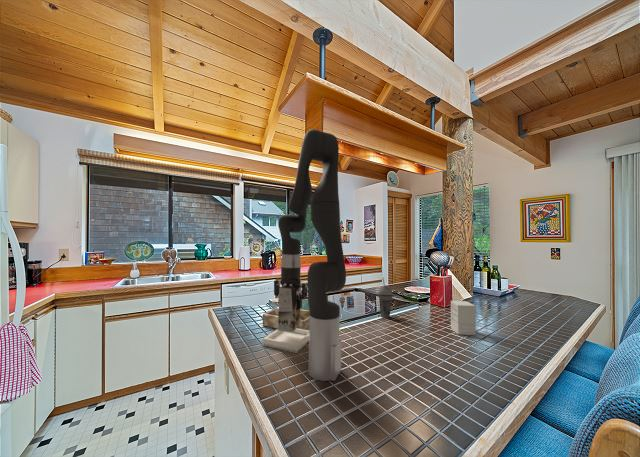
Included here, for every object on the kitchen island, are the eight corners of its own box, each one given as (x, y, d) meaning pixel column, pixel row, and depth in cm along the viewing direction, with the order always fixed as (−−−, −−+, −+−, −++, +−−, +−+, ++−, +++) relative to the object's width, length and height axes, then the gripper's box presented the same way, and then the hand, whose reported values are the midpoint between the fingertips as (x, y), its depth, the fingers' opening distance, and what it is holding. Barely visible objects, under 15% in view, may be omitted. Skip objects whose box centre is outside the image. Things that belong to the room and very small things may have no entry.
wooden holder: (317, 322, 114) (317, 311, 114) (304, 333, 101) (304, 320, 101) (279, 316, 122) (279, 305, 122) (262, 325, 109) (262, 313, 109)
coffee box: (293, 332, 88) (294, 288, 89) (277, 331, 90) (278, 287, 90) (300, 323, 97) (301, 283, 98) (285, 322, 99) (286, 282, 99)
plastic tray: (313, 337, 97) (313, 331, 97) (296, 353, 84) (296, 345, 84) (283, 331, 103) (283, 325, 103) (263, 345, 90) (263, 338, 90)
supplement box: (467, 329, 110) (467, 301, 110) (476, 335, 102) (476, 305, 103) (450, 328, 110) (450, 300, 111) (457, 334, 103) (457, 304, 103)
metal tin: (287, 321, 115) (288, 306, 115) (282, 324, 110) (282, 309, 111) (278, 319, 117) (279, 305, 117) (272, 323, 112) (273, 307, 112)
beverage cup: (394, 319, 120) (394, 279, 121) (379, 318, 121) (380, 278, 121) (390, 314, 128) (390, 276, 128) (376, 314, 128) (377, 276, 128)
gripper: (269, 265, 94) (268, 308, 93) (303, 268, 88) (302, 313, 88) (280, 263, 100) (279, 303, 100) (311, 265, 95) (310, 308, 94)
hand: (289, 308), depth 94 cm, fingers closed on coffee box, 7 cm apart
